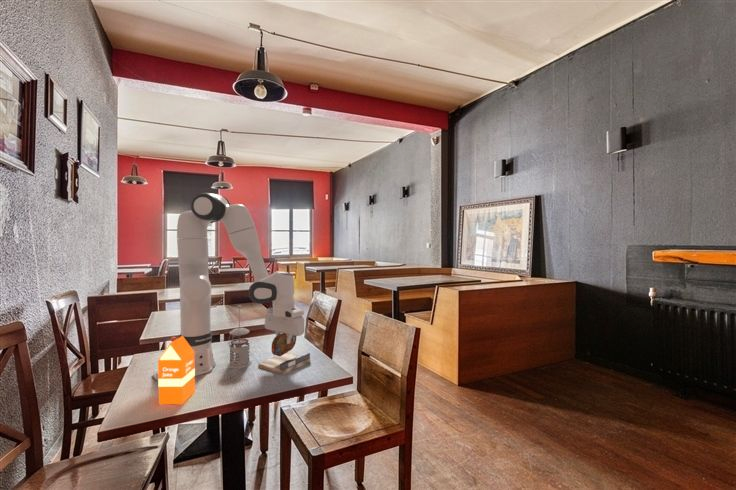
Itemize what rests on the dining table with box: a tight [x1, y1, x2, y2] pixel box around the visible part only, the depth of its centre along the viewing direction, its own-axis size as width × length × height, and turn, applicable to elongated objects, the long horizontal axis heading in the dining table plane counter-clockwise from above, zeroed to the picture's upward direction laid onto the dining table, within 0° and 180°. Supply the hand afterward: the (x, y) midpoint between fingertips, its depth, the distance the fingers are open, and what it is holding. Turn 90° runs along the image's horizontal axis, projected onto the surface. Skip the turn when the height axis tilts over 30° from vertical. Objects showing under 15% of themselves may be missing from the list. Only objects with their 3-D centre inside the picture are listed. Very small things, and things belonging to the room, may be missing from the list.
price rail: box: [280, 352, 311, 371], centre depth 145 cm, size 16×1×2 cm, turn 147°
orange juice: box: [157, 336, 196, 405], centre depth 118 cm, size 8×9×20 cm
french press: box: [227, 304, 253, 370], centre depth 148 cm, size 10×12×25 cm
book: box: [257, 352, 311, 375], centre depth 148 cm, size 16×14×2 cm
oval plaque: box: [270, 333, 297, 357], centre depth 148 cm, size 15×3×8 cm, turn 159°
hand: (283, 342), depth 148 cm, fingers closed on oval plaque, 3 cm apart
